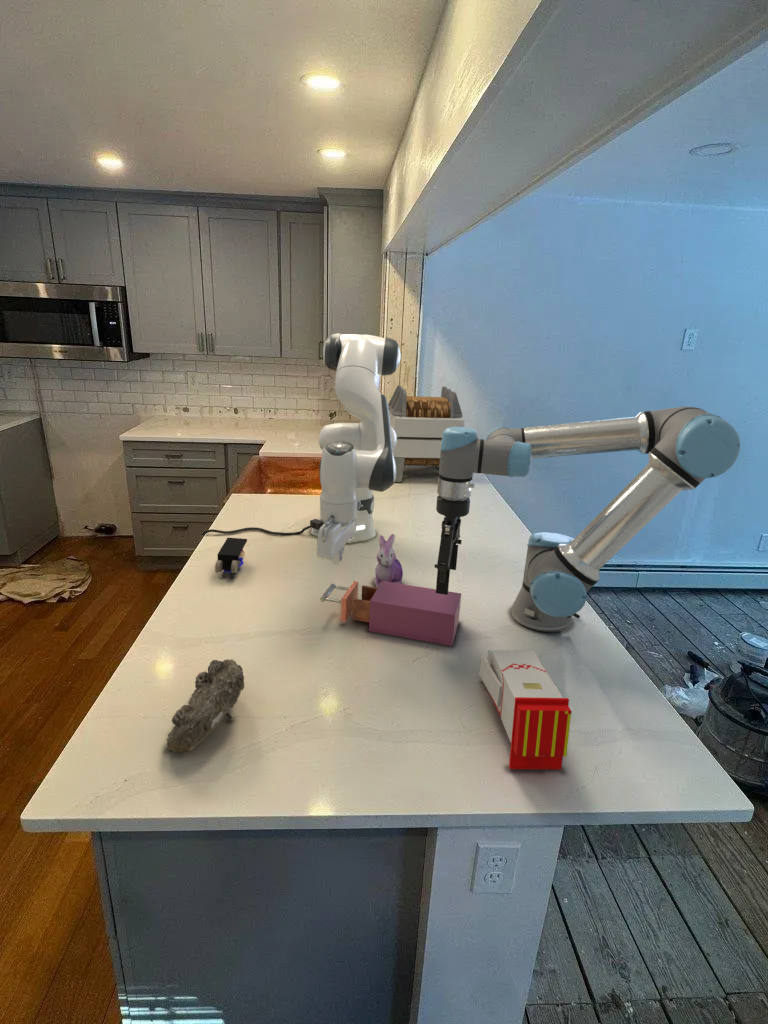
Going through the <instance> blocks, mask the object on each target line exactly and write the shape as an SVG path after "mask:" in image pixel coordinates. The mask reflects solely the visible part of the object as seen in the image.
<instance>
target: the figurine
mask: <svg viewBox="0 0 768 1024" xmlns="http://www.w3.org/2000/svg"><path fill="white" fill-rule="evenodd" d="M395 537H396V536H395V534H394V533H392V534H390V536H389V537H388V539H387V540H386V539H385V537H384V536H383V535H382V534H380V535H379V536H378V543H379V544H378V545H379V547H378V550H377V553H376V561H377V562H378V563H377V564H376V566H375V570H374V574H375V575H374V576H375V577H374V581H373V583H374V585H375V587H376V588H378V587H379V585H380V584H381V582H382V581H386V582H392V583H399V584H402V582H403V577H404V570H403V565H402V564H401V561H400V560H399V559H398V558H397V554H396V552H395V549H394V543H395Z"/></svg>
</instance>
